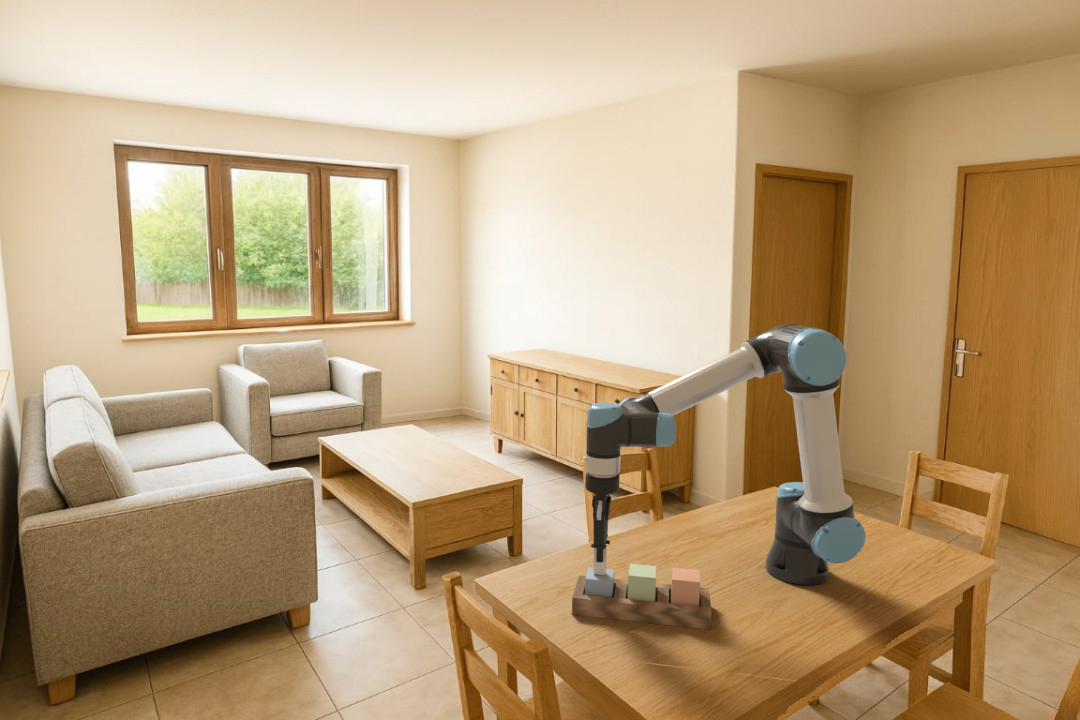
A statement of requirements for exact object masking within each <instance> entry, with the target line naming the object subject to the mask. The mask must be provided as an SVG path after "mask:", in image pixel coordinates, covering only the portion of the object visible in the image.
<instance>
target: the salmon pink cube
mask: <svg viewBox="0 0 1080 720" xmlns="http://www.w3.org/2000/svg"><path fill="white" fill-rule="evenodd" d="M670 585H671V604H681V605H691V606H699V598H700V587H701V573H700V570H699V569H691V568H690V569H689V568H678V567H671V583H670Z"/></svg>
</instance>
